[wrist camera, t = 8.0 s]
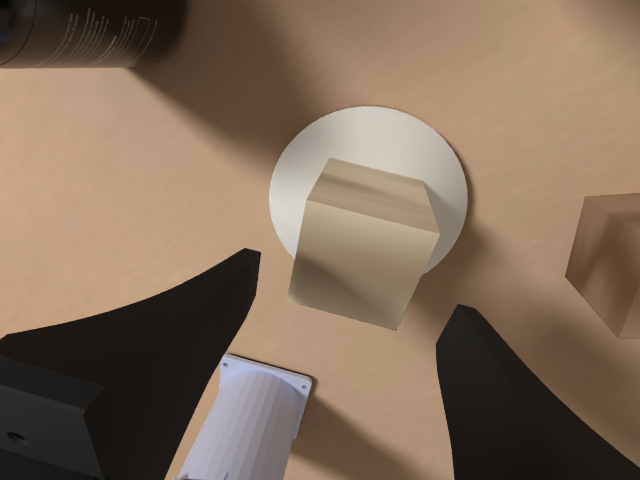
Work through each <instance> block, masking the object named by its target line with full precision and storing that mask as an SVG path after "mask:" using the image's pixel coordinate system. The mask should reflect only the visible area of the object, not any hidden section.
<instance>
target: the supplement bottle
mask: <svg viewBox="0 0 640 480" xmlns="http://www.w3.org/2000/svg"><path fill="white" fill-rule="evenodd" d="M185 11H186V0H0V69H22V68H122V67H141V66H147V65H151V64H153V63H155V62H157V61H159V60H161V59H162V58H164V57H165V56H166V55H167V54H168V53H169V52H170V51H171V50H172V48H173V47H174V46H175V44H176V42H177V40H178V38H179V36H180V34H181V31H182V28H183V24H184V19H185Z"/></svg>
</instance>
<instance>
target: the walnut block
mask: <svg viewBox="0 0 640 480" xmlns="http://www.w3.org/2000/svg"><path fill="white" fill-rule="evenodd" d="M565 277H566V278H567V279H568V280H569V282H570V283H571V284H572V285H573V286H574V287H575V289H576V290H577V291H578V292H579V293H580V294H581V296H582V297H583V298H584V299H585V300H586V302H587V303H588V304H589V305H590V306H591V307H592V309H593V310H594V311H595V312H596V313H597V314H598V316H599V317H600V318H601V319H602V320H603V322H604V323H605V324H606V325H607V326H608V327H609V329H610V330H611V331H612V332H613V333H614V334H615V336H616V337H617V338H618V339H640V193H632V194H617V195H603V196H589V197H585V199H584V203H583V207H582V211H581V215H580V219H579V223H578V227H577V231H576V235H575V239H574V243H573V247H572V251H571V255H570V259H569V263H568V267H567V271H566V275H565Z"/></svg>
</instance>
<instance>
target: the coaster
mask: <svg viewBox="0 0 640 480" xmlns="http://www.w3.org/2000/svg"><path fill="white" fill-rule="evenodd" d="M329 157H330V158H334V159H338V160H342V161H346V162H350V163H354V164H358V165H362V166H366V167H370V168H374V169H378V170H382V171H386V172H390V173H394V174H398V175H402V176H406V177H410V178H414V179H418V180H422V181H423V184H424V187H425V190H426V193H427V196H428V199H429V202H430V205H431V208H432V211H433V214H434V217H435V220H436V223H437V226H438V229H439V232H440V236H439V238H438V241H437V243H436V245H435V247H434V249H433V252H432V254H431V256H430V258H429V260H428V262H427V265H426V267H425V269H424V271H423V273H422V275H423V274H425V273H427V272H428V271H429V270H431V269H432V268H433V267H435V266H436V265H437V264H438V263H439V262H440V261H441V260H442V259H443V258H444V257H445V256H446V255H447V254H448V252H449V251H450V250H451V249H452V247H453V246H454V244H455V242H456V241H457V239H458V237H459V235H460V233H461V230H462V228H463V225H464V221H465V217H466V213H467V204H468V195H467V185H466V180H465V175H464V172H463V170H462V167H461V165H460V162H459V160H458V159H457V157H456V155H455V153H454V152H453V150H452V149H451V147H450V146H449V145H448V144H447V142H446V141H445V140H444V139H443V137H442V136H441V135H440V134H439V133H438V132H437V131H436V130H434V129H433V128H432V127H431V126H430V125H428V124H427V123H425V122H424V121H422V120H421V119H419V118H417V117H415V116H413V115H411V114H409V113H407V112H404V111H401V110H398V109H395V108H390V107H384V106H375V105H362V106H354V107H348V108H344V109H340V110H336V111H334V112H331V113H329V114H327V115H324V116H322V117H321V118H319V119H317V120H316V121H314V122H312V123H311V124H310V125H308V126H307V127H306V128H305V129H303V130H302V131H301V132H300V133H299V134H297V136H296V137H295V138H294V139H293V140H292V141H291V142H290V143H289V144H288V146H287V147H286V148H285V150H284V151H283V153H282V154H281V156H280V158H279V160H278V162H277V164H276V166H275V169H274V172H273V175H272V179H271V184H270V193H269V204H270V213H271V217H272V222H273V225H274V227H275V230H276V233H277V235H278V237H279V239H280V241H281V242H282V244H283V245H284V247H285V248H286V250H287V251H288V252H289V254H290V255H291V256H292V257H293V258H294V259H295V256H296V251H297V245H298V240H299V235H300V230H301V224H302V219H303V214H304V209H305V204H306V199H307V197H308V196H309V194H310V192H311V190H312V188H313V187H314V185H315V183H316V181H317V179H318V177H319V176H320V174H321V172H322V170H323V168H324V167H325V165H326V163H327V161H328V159H329Z"/></svg>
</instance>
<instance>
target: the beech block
mask: <svg viewBox="0 0 640 480" xmlns="http://www.w3.org/2000/svg"><path fill="white" fill-rule="evenodd" d="M439 236H440V232H439V229H438V226H437V223H436V220H435V217H434V214H433V211H432V208H431V205H430V202H429V199H428V196H427V193H426V190H425V187H424V184H423V181H422V180H418V179H414V178H410V177H406V176H402V175H398V174H394V173H390V172H386V171H382V170H378V169H374V168H370V167H366V166H362V165H358V164H354V163H350V162H346V161H342V160H338V159H334V158H330V157H329V159H328V161H327V163H326V165H325V167H324V168H323V170H322V172H321V174H320V176H319V177H318V179H317V181H316V183H315V185H314V187H313V188H312V190H311V192H310V194H309V196H308V197H307V199H306V204H305V209H304V214H303V219H302V224H301V230H300V235H299V240H298V245H297V251H296V256H295V261H294V266H293V271H292V277H291V282H290V287H289V292H288V298H287V301H289V302H293V303H296V304H300V305H304V306H307V307H311V308H315V309H318V310H322V311H326V312H329V313H333V314H337V315H340V316H344V317H348V318H351V319H355V320H359V321H362V322H366V323H370V324H373V325H377V326H381V327H384V328H388V329H392V330H395V331H396V330H397V328H398V326H399V324H400V322H401V319H402V317H403V315H404V313H405V311H406V308H407V306H408V304H409V302H410V300H411V297H412V295H413V293H414V291H415V289H416V287H417V284H418V282H419V280H420V278H421V276H422V273H423V271H424V269H425V267H426V265H427V262H428V260H429V258H430V256H431V254H432V252H433V249H434V247H435V245H436V243H437V241H438V238H439Z"/></svg>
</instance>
